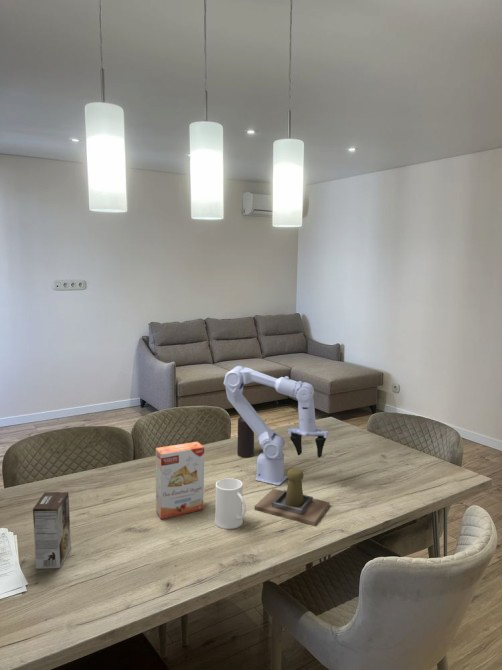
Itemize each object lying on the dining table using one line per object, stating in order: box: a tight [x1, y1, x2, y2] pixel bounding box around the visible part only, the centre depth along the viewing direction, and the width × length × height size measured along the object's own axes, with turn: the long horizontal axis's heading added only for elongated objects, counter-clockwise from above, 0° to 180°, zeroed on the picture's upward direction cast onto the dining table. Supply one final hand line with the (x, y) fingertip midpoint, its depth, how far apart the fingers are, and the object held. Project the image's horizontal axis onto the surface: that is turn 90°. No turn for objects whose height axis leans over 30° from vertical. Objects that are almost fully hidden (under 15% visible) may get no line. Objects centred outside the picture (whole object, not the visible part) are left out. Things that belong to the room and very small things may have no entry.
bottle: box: [237, 415, 255, 458], centre depth 194 cm, size 7×7×20 cm
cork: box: [285, 467, 304, 507], centre depth 151 cm, size 6×6×11 cm
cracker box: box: [155, 441, 205, 520], centre depth 147 cm, size 14×6×21 cm, turn 118°
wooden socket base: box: [254, 488, 330, 527], centre depth 151 cm, size 20×14×3 cm
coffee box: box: [32, 491, 72, 570], centre depth 122 cm, size 9×6×16 cm
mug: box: [214, 477, 247, 530], centre depth 140 cm, size 12×8×12 cm
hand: (309, 455), depth 168 cm, fingers open, 7 cm apart
